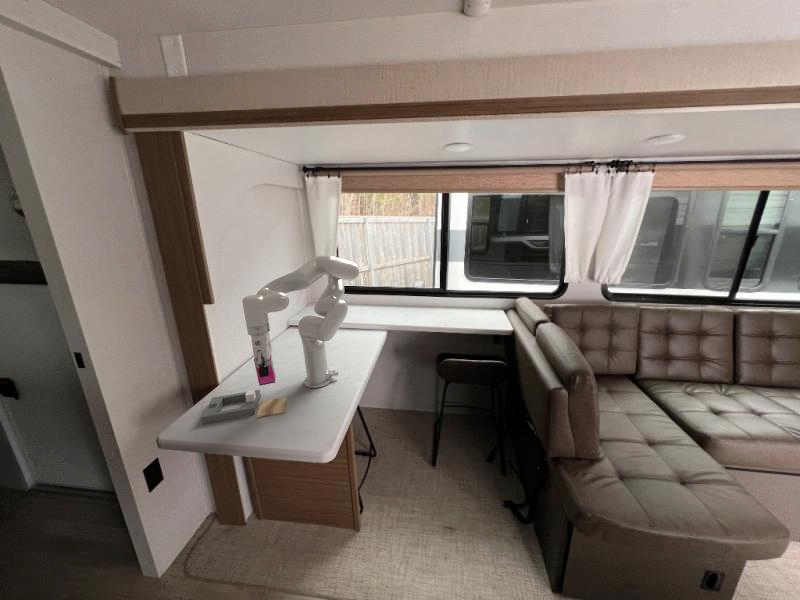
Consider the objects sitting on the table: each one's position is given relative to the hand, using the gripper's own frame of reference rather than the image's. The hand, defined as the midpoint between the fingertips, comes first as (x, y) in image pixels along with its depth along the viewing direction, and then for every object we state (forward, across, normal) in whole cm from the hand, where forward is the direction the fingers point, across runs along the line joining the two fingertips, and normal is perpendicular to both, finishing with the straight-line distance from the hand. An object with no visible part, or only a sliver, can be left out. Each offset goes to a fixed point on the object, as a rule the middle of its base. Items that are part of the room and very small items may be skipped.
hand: (265, 371), depth 113 cm
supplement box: (+4, 0, 0) cm, 4 cm away
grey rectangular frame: (+16, +4, +15) cm, 22 cm away
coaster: (+16, 0, 0) cm, 16 cm away
